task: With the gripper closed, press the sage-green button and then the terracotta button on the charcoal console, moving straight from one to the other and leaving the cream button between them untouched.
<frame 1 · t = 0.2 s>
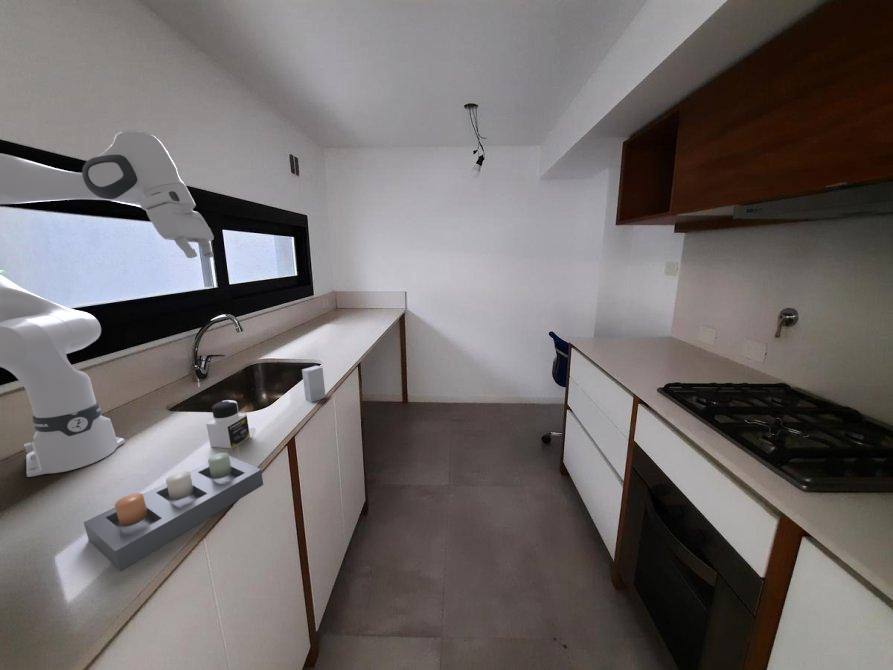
hand: (201, 257, 90), 52 cm above the worktop, tool tilted 20°, fingers open, 8 cm apart
button terracotta: (131, 509, 66), point 6 cm above the worktop, slide at 0.0 cm
medicine bottle: (230, 442, 102), on the worktop
button cream: (180, 485, 73), point 6 cm above the worktop, slide at 0.0 cm
button sage: (220, 465, 80), point 6 cm above the worktop, slide at 0.0 cm
skincare box: (315, 399, 131), on the worktop
console: (185, 509, 74), on the worktop
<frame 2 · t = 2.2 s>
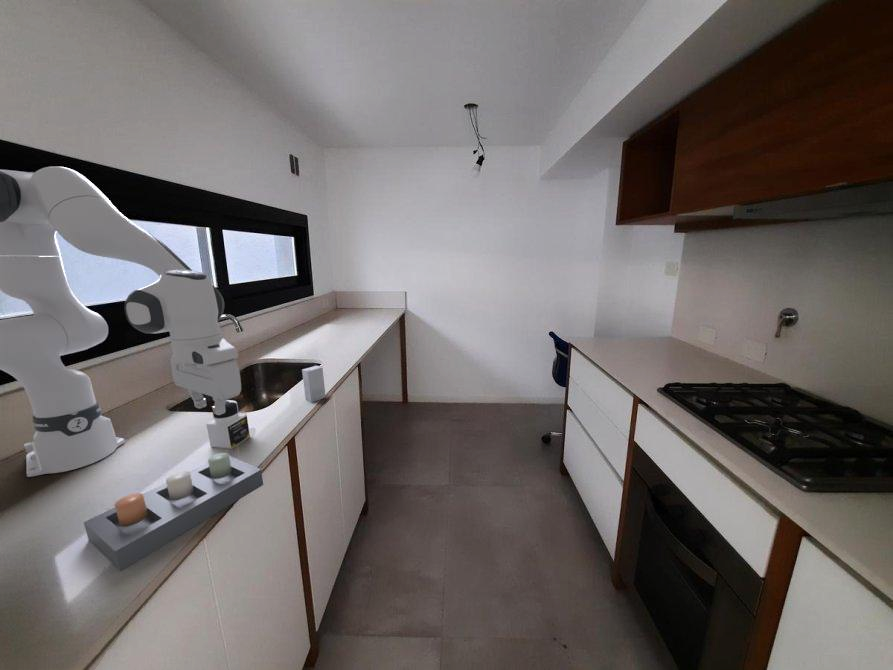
hand: (210, 410, 77), 19 cm above the worktop, tool pointing down, fingers open, 6 cm apart
nothing on the worktop moved.
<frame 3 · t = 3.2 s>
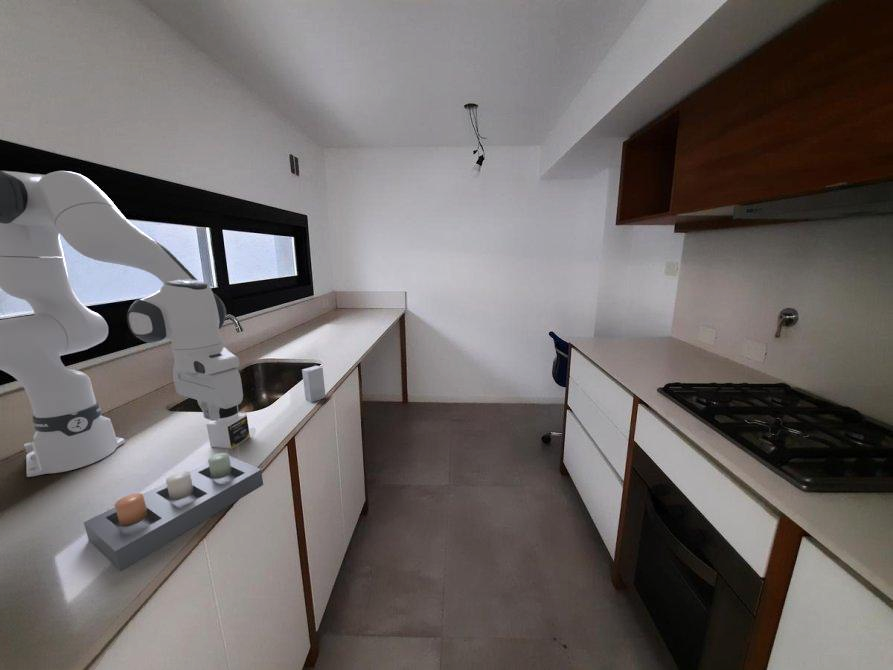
hand: (212, 418, 77), 17 cm above the worktop, tool pointing down, fingers closed
nothing on the worktop moved.
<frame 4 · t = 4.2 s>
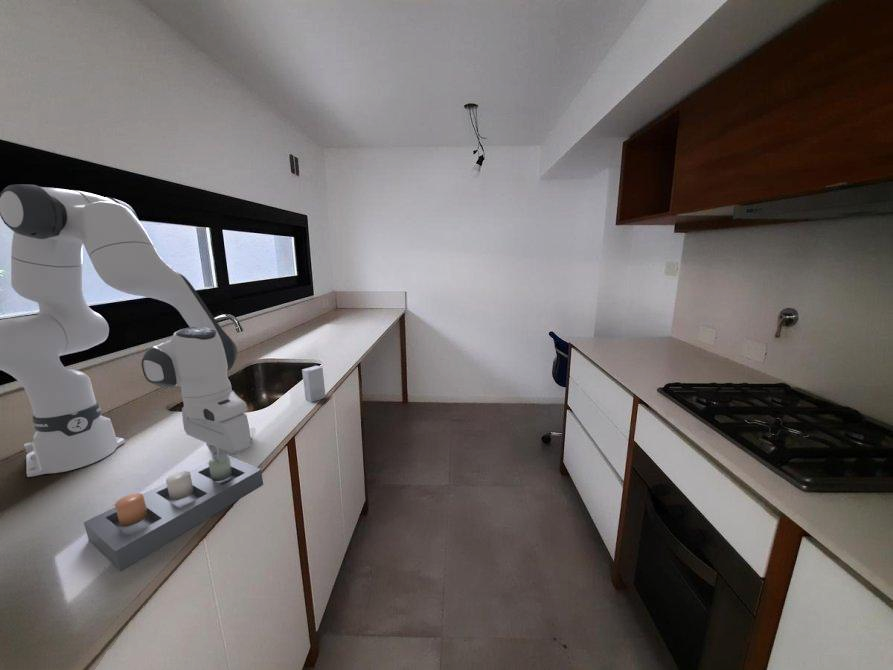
hand: (220, 459, 79), 7 cm above the worktop, tool pointing down, fingers closed, pressing on button sage
button sage: (220, 468, 80), point 5 cm above the worktop, slide at 0.6 cm, touching gripper
everything else where it was.
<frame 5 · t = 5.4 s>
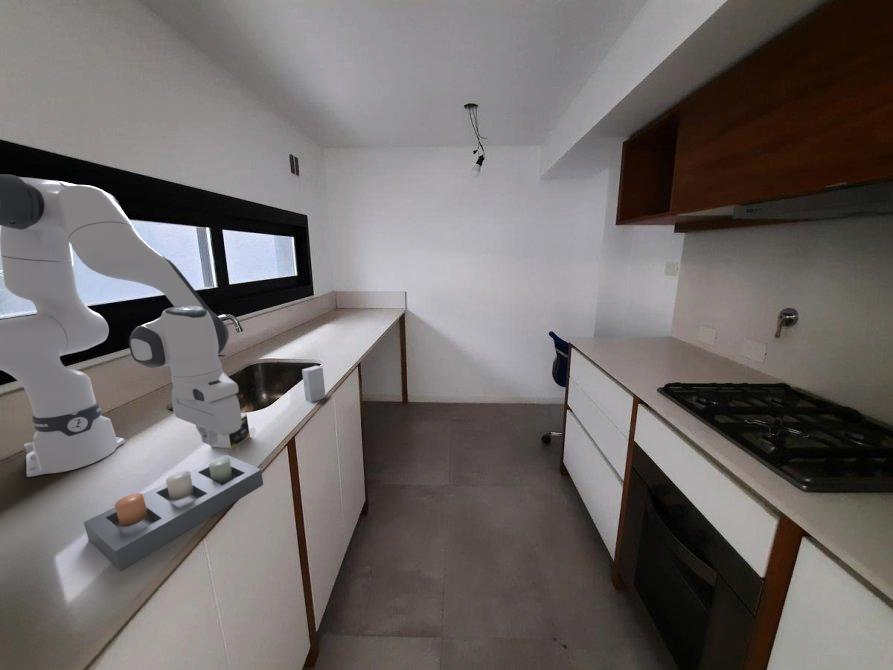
hand: (210, 442, 77), 12 cm above the worktop, tool pointing down, fingers closed
button sage: (221, 471, 80), point 4 cm above the worktop, slide at 1.4 cm
everything else where it was.
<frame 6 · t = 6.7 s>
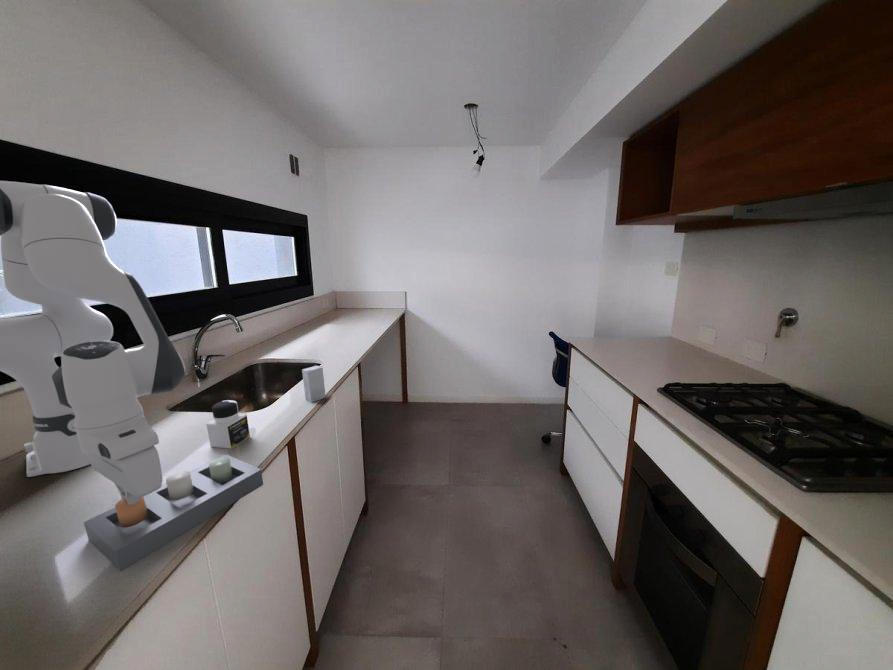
hand: (131, 500, 66), 8 cm above the worktop, tool pointing down, fingers closed, pressing on button terracotta
button terracotta: (131, 510, 66), point 6 cm above the worktop, slide at 0.2 cm, touching gripper
everything else where it was.
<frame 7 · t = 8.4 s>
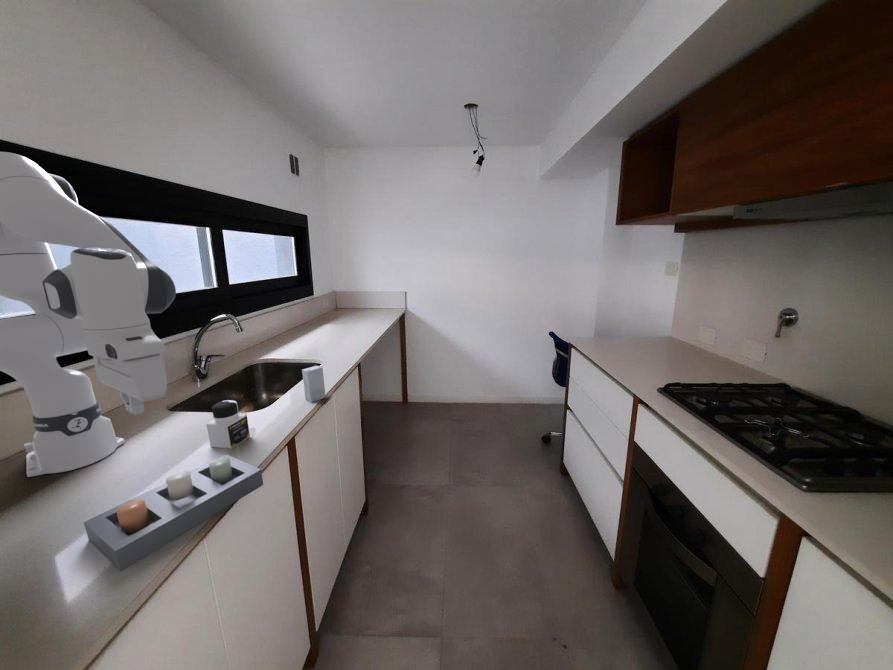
hand: (135, 411, 66), 23 cm above the worktop, tool pointing down, fingers closed
button terracotta: (133, 516, 66), point 4 cm above the worktop, slide at 1.4 cm
everything else where it was.
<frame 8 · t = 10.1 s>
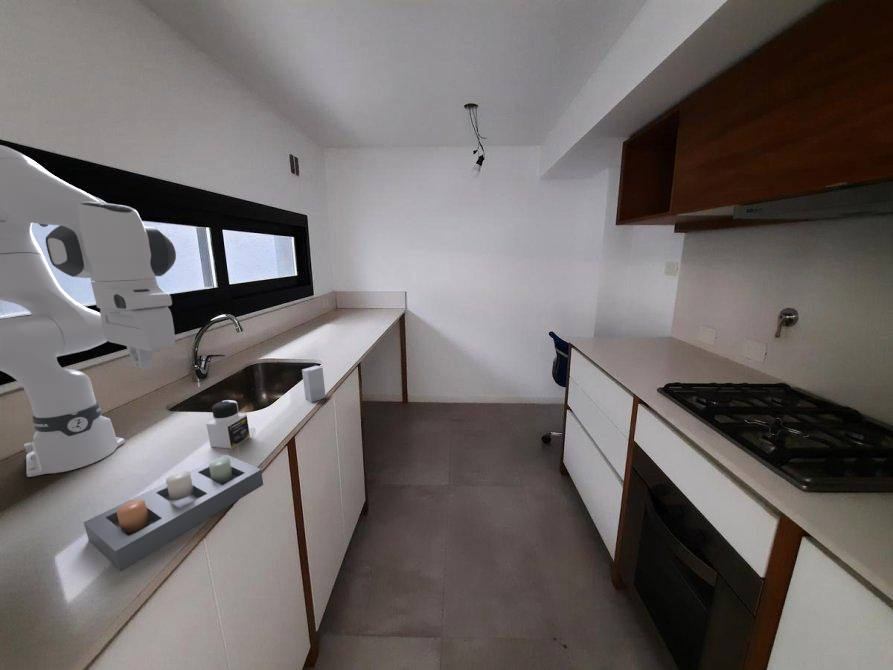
hand: (144, 368, 67), 31 cm above the worktop, tool pointing down, fingers closed
nothing on the worktop moved.
at the end: button sage slide at 1.4 cm; button terracotta slide at 1.4 cm; button cream slide at 0.0 cm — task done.
